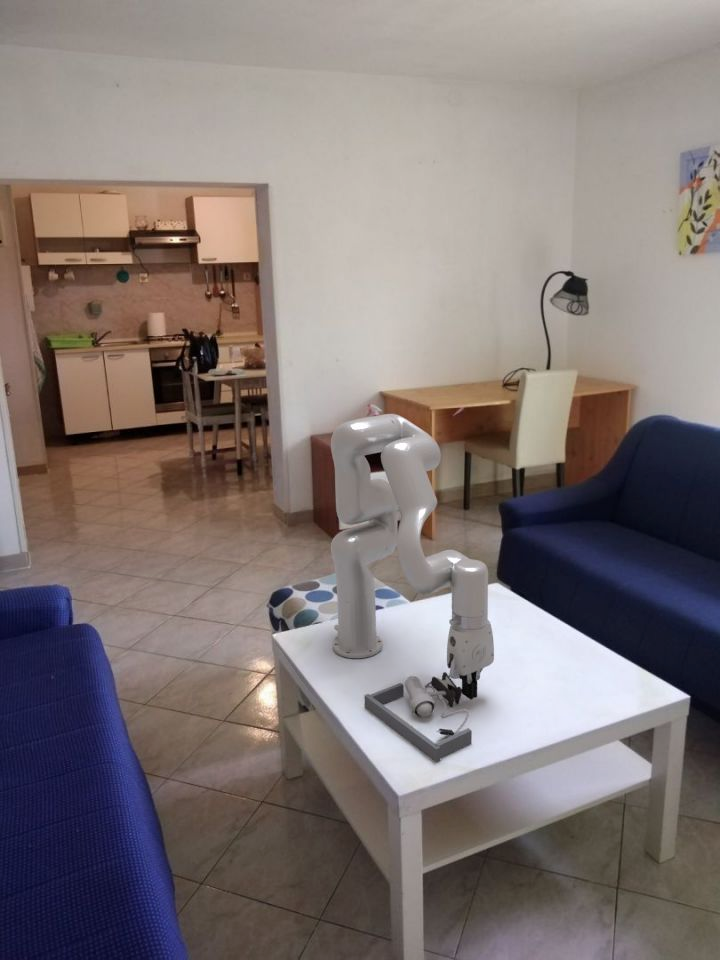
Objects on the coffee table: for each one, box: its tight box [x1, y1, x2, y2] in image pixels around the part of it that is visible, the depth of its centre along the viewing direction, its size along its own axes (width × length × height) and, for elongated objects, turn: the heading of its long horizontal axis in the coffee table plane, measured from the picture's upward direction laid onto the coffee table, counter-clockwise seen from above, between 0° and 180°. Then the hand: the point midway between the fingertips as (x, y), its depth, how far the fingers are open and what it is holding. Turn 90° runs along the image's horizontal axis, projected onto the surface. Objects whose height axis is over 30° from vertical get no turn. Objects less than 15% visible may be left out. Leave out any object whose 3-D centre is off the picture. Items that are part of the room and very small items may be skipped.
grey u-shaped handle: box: [363, 682, 473, 764], centre depth 151 cm, size 24×10×3 cm, turn 34°
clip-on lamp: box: [404, 671, 470, 737], centre depth 154 cm, size 12×6×18 cm
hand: (469, 695), depth 159 cm, fingers closed
